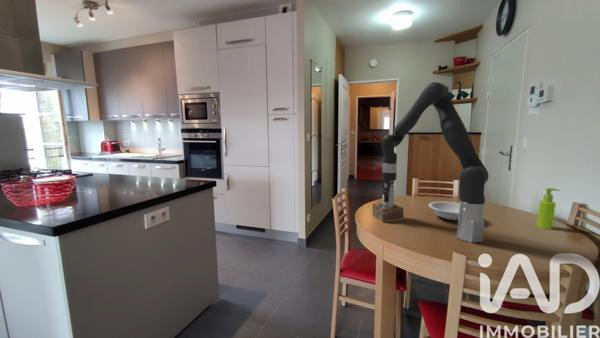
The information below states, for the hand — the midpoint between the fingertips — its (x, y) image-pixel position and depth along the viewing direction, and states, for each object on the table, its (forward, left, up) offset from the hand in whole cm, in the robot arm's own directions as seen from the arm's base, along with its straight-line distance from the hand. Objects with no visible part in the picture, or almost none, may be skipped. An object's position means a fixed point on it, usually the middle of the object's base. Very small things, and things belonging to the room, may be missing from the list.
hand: (388, 200), depth 148 cm
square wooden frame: (0, 0, -10) cm, 10 cm away
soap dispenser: (-30, -71, -10) cm, 78 cm away
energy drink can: (0, 0, -7) cm, 7 cm away
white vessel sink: (-8, -35, -10) cm, 37 cm away
